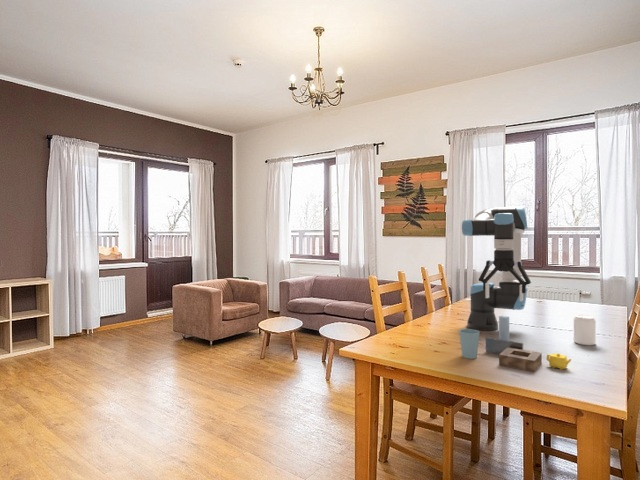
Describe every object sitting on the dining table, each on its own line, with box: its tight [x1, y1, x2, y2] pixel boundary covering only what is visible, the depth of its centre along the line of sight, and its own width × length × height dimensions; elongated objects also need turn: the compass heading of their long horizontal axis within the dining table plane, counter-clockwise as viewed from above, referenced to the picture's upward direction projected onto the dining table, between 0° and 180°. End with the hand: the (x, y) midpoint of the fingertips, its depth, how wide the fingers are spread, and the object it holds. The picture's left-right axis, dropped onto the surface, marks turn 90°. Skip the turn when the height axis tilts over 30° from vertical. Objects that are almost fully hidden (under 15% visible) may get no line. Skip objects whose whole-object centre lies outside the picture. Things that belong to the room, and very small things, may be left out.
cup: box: [459, 328, 480, 360], centre depth 159 cm, size 8×8×10 cm
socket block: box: [498, 347, 543, 373], centre depth 149 cm, size 12×12×4 cm
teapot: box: [546, 353, 572, 371], centre depth 145 cm, size 8×6×5 cm
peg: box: [498, 315, 510, 341], centre depth 168 cm, size 4×4×14 cm
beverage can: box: [573, 314, 597, 346], centre depth 175 cm, size 8×8×12 cm
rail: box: [485, 337, 524, 355], centre depth 160 cm, size 14×1×6 cm, turn 50°
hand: (504, 299), depth 167 cm, fingers open, 13 cm apart
